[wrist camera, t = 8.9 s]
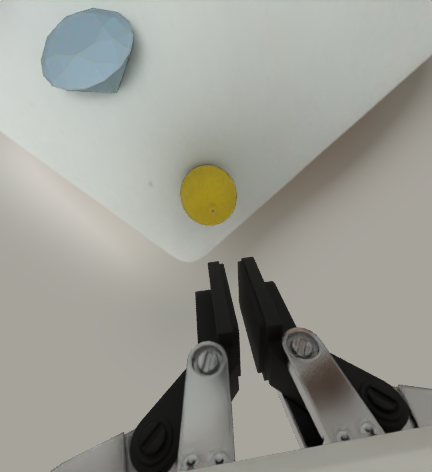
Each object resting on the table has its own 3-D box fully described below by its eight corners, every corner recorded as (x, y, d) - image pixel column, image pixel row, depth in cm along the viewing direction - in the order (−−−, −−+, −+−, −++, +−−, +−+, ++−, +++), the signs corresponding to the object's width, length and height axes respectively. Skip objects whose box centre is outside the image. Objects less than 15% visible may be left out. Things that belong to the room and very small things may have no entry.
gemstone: (158, 117, 20) (128, 60, 15) (77, 136, 20) (24, 89, 16) (153, 50, 21) (124, -20, 17) (79, 70, 22) (32, 11, 18)
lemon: (205, 213, 28) (211, 249, 21) (170, 183, 26) (165, 212, 19) (238, 182, 27) (257, 209, 20) (205, 146, 24) (213, 163, 17)
